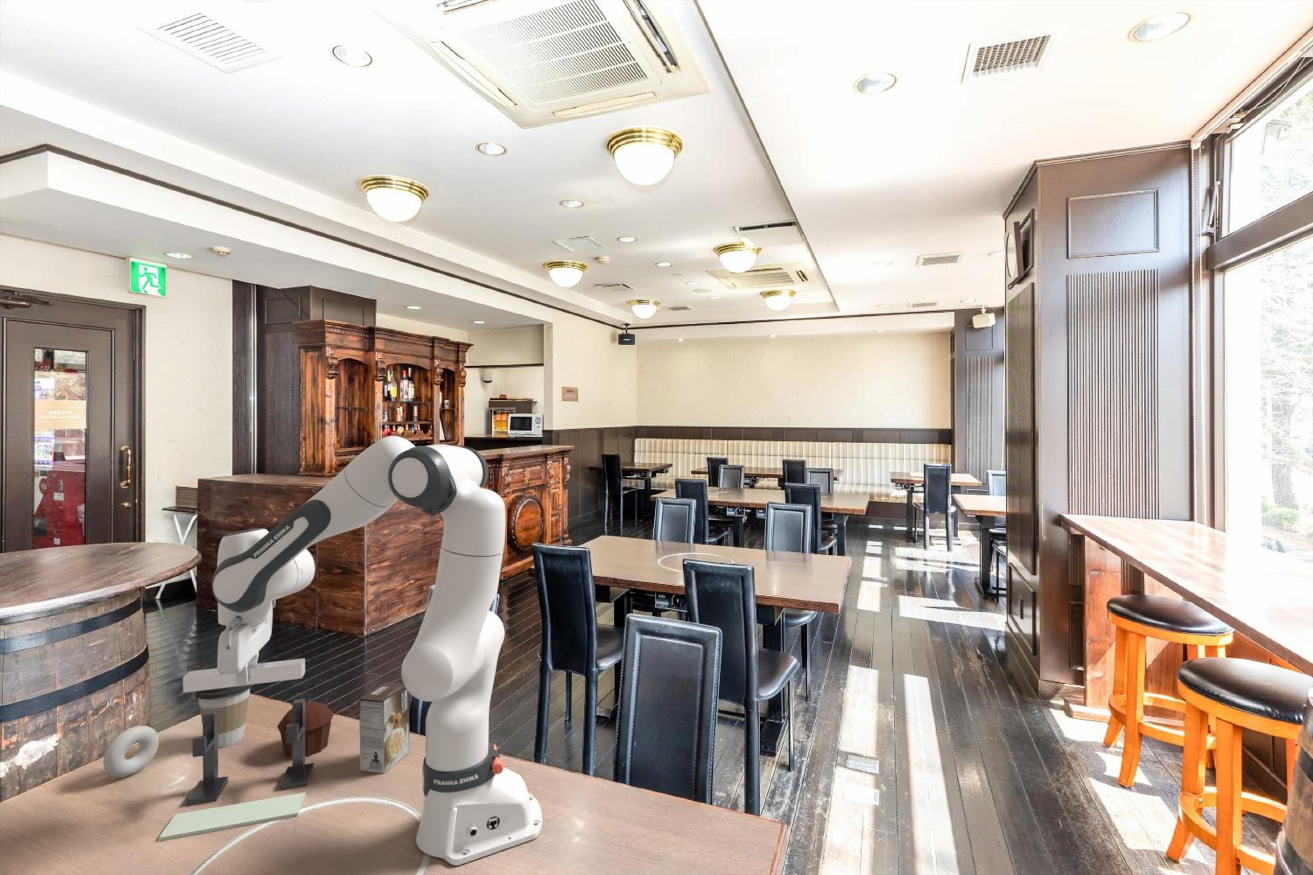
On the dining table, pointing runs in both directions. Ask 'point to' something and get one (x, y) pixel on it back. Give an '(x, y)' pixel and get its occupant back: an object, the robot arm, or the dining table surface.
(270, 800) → the mat
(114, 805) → the dining table surface
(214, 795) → the rack
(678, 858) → the dining table surface
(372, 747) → the coffee box
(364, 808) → the dining table surface
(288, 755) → the muffin
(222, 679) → the rail
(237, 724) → the coffee cup
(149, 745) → the donut
